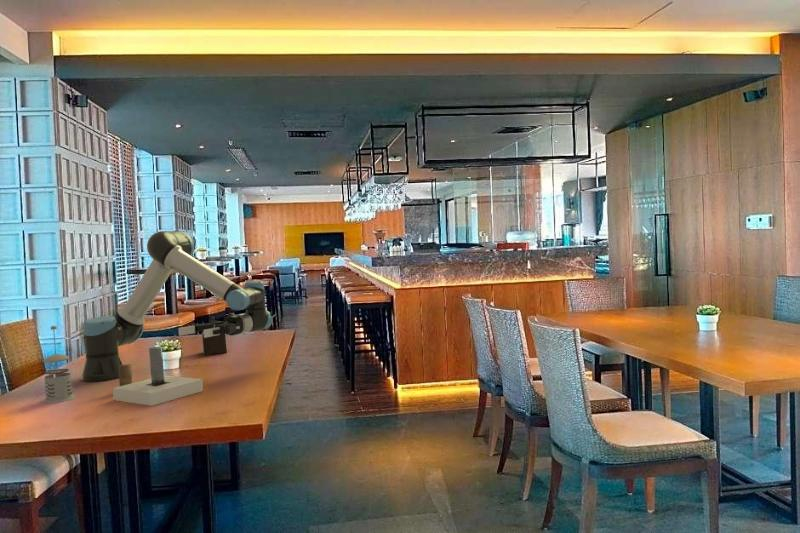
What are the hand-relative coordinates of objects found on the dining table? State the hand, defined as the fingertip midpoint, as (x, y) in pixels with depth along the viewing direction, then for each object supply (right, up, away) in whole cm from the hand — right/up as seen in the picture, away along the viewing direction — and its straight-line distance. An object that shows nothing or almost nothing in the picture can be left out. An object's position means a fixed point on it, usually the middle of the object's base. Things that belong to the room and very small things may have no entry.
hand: (191, 332), depth 227 cm
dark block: (-9, -16, +70) cm, 72 cm away
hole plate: (-7, -19, -13) cm, 24 cm away
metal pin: (-7, -19, -13) cm, 24 cm away
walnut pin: (-22, -20, -3) cm, 30 cm away
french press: (-42, -22, -9) cm, 48 cm away
